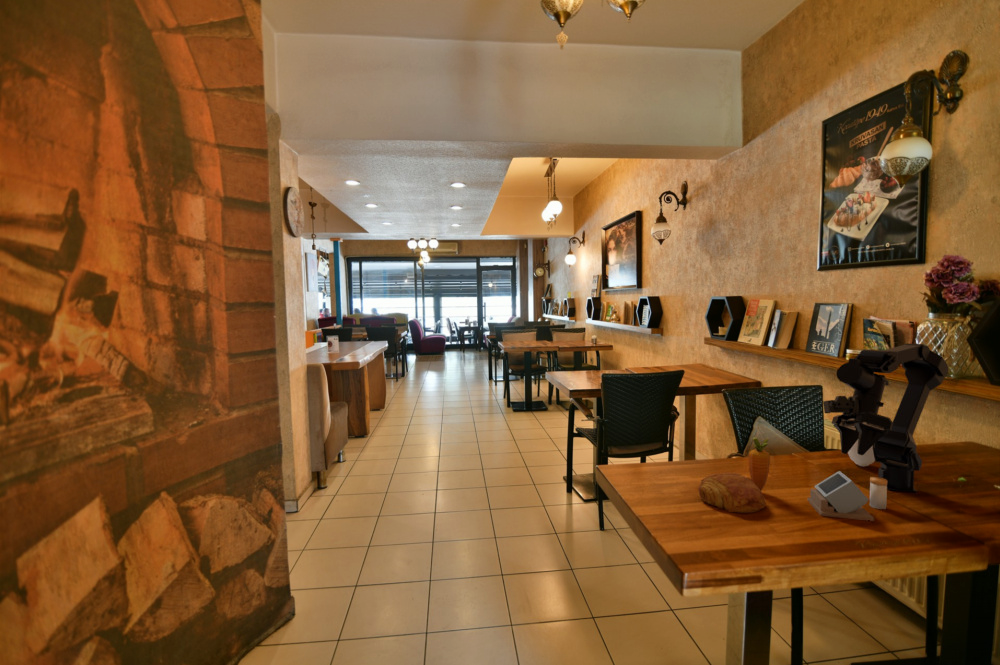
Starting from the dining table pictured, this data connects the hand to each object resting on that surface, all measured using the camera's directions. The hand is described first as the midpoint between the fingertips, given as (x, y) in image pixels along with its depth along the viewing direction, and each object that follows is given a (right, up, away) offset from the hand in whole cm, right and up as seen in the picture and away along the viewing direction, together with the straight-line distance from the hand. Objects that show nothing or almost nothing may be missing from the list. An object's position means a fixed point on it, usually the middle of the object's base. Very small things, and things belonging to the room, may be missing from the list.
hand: (851, 454), depth 116 cm
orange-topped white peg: (+4, -12, -3) cm, 13 cm away
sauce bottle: (+24, -11, +27) cm, 38 cm away
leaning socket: (-7, -13, -4) cm, 15 cm away
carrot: (-20, -12, +7) cm, 24 cm away
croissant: (-30, -13, +1) cm, 33 cm away
